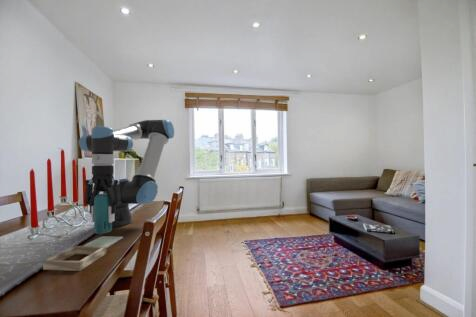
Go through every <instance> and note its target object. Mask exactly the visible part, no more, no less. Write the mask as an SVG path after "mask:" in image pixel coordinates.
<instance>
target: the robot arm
mask: <svg viewBox="0 0 476 317" xmlns="http://www.w3.org/2000/svg"><path fill="white" fill-rule="evenodd" d="M174 137H175V128H174V124H173V122H172V121H171V120H170V119H163V118H162V119H147V120H146V119H144V120H141V121H137V122H133V123H130V124H128V126H125V127H121V128H117V129H113V127H109V126H94V127H92V130H91V134H88V135H86V134H85V135H82V136H81V137H80V138H79V139H78V146H79V148H80V149H81V150H82V151H83V152H89V153H91V164H92V165H91V175H92V176H91V178H90V179H85V180H84V184H85V192H84V193H85V194H84V205H88V207H89V213H90V214H91V216H90V217H91V218H90V219H91V223H94V197H95V196H96V195H97V194H101V192H97V187H99V186H103V187H104V190H106V191H103V192H102V194H107V196H108V199H109V202H110V205H109V223H111V222H112V228H115V227H116V228H117V227H121V226H125V225H129V224H131V223H132V222H133V215H132V213H131V210H130V207H129V205H149V204H151V203H153V202H154V200H155V199H156V198H157V195H158V189H159V188H158V183H156V179H155V176H156V173H157V169H158V166H159V163H160V160H161V156H162V152H163V149H164V147H165V145H166V144H167V143H168V142H169V139H173V138H174ZM139 139H143V140H144V139H148V140H149V141H148V142H147V147H146V149H145V152H144V154H143V157H142V161H141V163H140V166H139V169H138V171H137V173H136V174H134V175H133V176H132V179H131V180H130V179H129V178H128V177H127V178H119V179H116V178H114V165H113V164H114V152H121V153H123V152H129V151H131V149H132V148H133V147H134V141H133V140H139Z"/></svg>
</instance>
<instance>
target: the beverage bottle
mask: <svg viewBox="0 0 476 317" xmlns="http://www.w3.org/2000/svg"><path fill="white" fill-rule="evenodd" d="M103 191H106V190H104V187H103V186H99V187H97V192H100V193H99V194H97V195H96V196H95V197H94V222H93V231H94V234H96V235H98V234H99V235H102V234H107V233H110V232H112V230H113V227H112V222H111V223H109V205H110V202H109V199H108V196H107V194H103ZM101 192H102V193H101Z"/></svg>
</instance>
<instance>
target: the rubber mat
mask: <svg viewBox="0 0 476 317" xmlns="http://www.w3.org/2000/svg"><path fill="white" fill-rule="evenodd" d="M122 239H124V236H108V235H107V236H102V235H101V236H99V237H96V238H95V239H94V240H91V241H89V242H87V243H85V244H83V246H103V247H106V249H107V248H109V247H111V246H112V245H114V244H115V243H118V242H119V241H120V240H122Z"/></svg>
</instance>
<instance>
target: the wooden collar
mask: <svg viewBox="0 0 476 317" xmlns="http://www.w3.org/2000/svg"><path fill="white" fill-rule="evenodd" d="M106 254H107V248H106V247H103V246H84V245H73V246H72V247H69V248H68V249H65V250H64V251H62V252H60V253H58V254H55V255H53V256H52V257H49V258H48V259H45V260H44V261H42V270H44V271H45V270H46V271H76V272H77V271H79V272H80V271H82V270H83V269H86V267H88V266H89V265H91V264H93V263H94V262H95V261H97V260H99V259H100V258H102V257H103V256H105V255H106ZM74 255H87V256H85V257H83V258H82V259H80V260H67V259H68V258H70V257H72V256H74Z"/></svg>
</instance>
